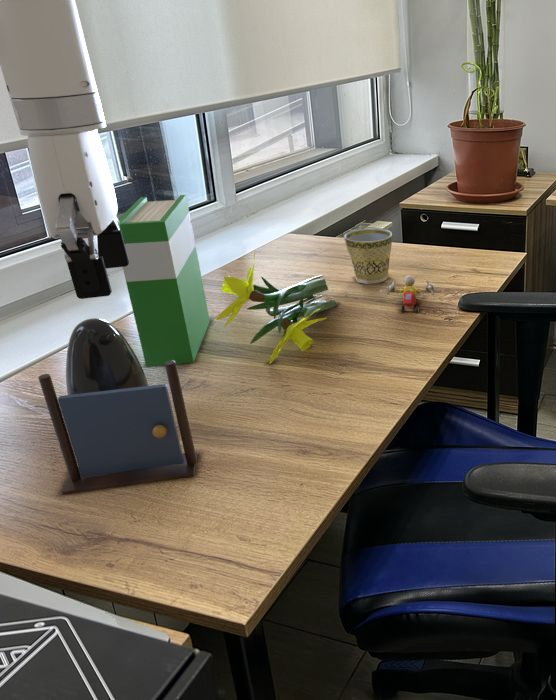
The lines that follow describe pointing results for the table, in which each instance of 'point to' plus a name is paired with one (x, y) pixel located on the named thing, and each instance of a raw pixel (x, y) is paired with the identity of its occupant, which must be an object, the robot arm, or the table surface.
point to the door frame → (126, 477)
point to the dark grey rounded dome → (101, 360)
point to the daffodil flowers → (275, 299)
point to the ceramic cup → (369, 253)
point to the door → (122, 429)
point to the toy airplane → (410, 293)
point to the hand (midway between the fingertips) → (105, 280)
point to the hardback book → (164, 280)
